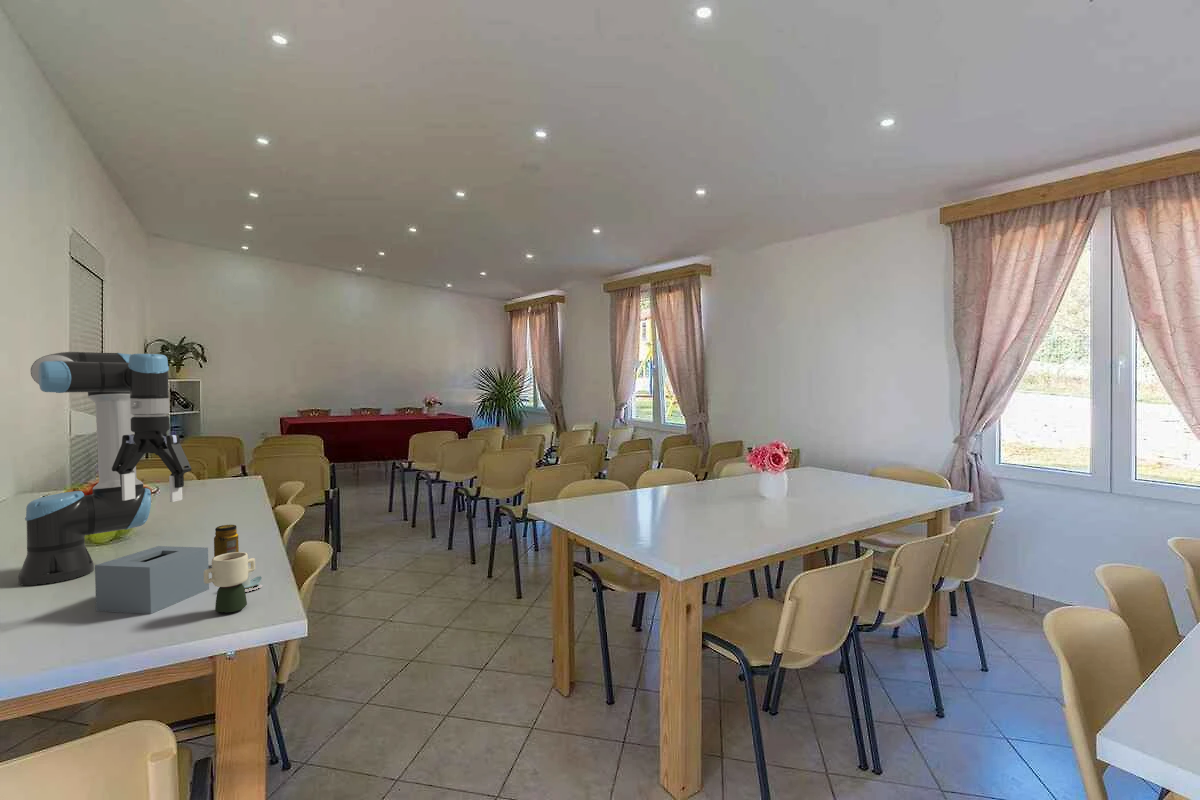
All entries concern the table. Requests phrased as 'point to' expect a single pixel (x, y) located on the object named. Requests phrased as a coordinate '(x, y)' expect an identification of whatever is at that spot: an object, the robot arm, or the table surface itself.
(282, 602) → the table surface
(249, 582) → the pacifier
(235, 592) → the character mug
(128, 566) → the box
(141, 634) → the table surface
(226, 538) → the condiment
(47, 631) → the table surface
